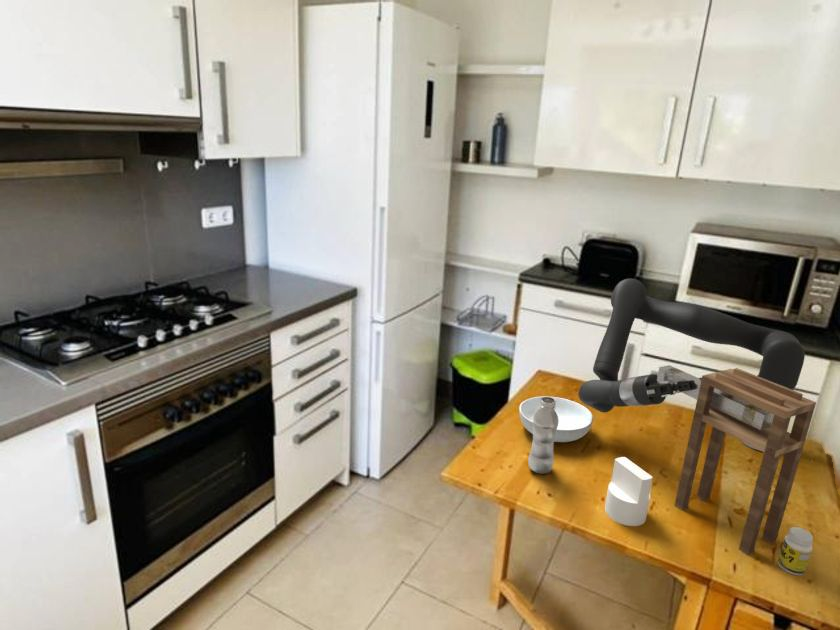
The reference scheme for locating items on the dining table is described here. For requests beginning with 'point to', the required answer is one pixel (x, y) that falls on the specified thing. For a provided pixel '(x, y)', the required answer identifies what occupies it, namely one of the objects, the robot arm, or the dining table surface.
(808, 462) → the dining table surface
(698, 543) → the dining table surface
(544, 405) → the plastic bottle
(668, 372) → the bar
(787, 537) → the supplement bottle
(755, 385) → the walnut shelf
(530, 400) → the serving bowl
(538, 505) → the dining table surface
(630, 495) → the base with upright slab
